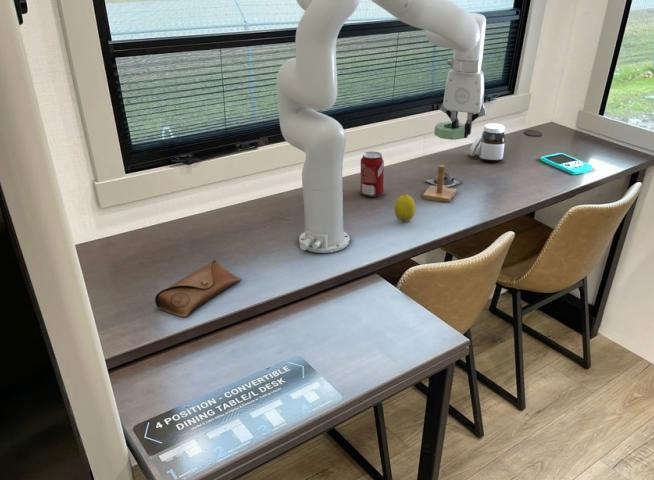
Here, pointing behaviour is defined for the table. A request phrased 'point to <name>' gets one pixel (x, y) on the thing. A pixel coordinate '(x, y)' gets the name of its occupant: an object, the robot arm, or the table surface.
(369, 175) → the soda can
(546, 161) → the handheld game console
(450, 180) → the donut
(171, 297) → the sunglasses case
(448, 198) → the post
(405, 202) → the lemon
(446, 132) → the ring
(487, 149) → the spread jar
